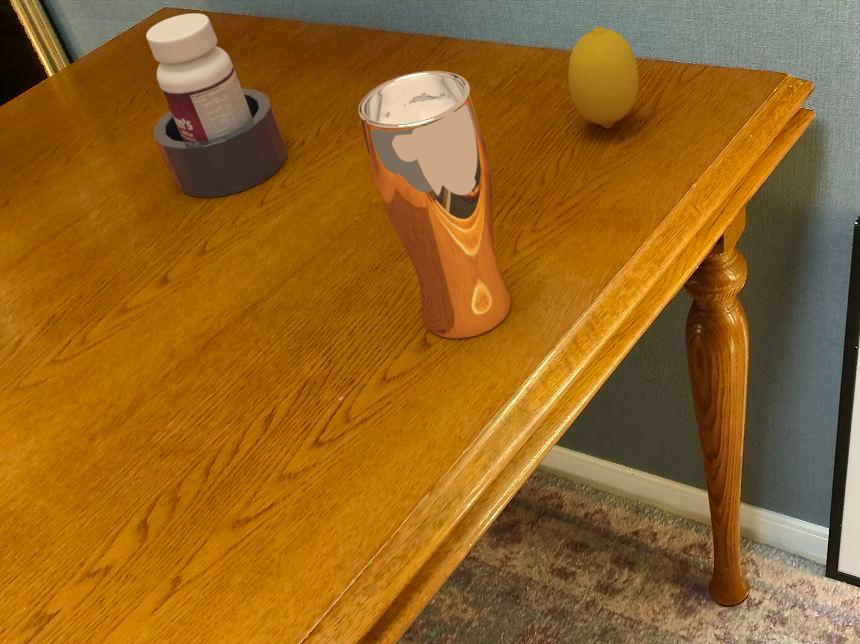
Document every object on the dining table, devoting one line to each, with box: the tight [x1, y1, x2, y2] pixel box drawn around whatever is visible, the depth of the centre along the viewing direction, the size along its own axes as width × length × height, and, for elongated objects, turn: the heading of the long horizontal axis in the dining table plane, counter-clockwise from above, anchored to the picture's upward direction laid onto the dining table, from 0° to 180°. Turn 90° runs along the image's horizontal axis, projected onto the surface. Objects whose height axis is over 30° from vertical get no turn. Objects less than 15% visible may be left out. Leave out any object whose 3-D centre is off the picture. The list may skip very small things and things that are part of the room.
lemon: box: [567, 25, 640, 129], centre depth 79 cm, size 6×6×8 cm
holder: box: [153, 87, 288, 198], centre depth 86 cm, size 10×10×4 cm
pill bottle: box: [145, 12, 253, 142], centre depth 83 cm, size 6×6×11 cm
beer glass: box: [357, 70, 512, 340], centre depth 63 cm, size 7×7×15 cm
